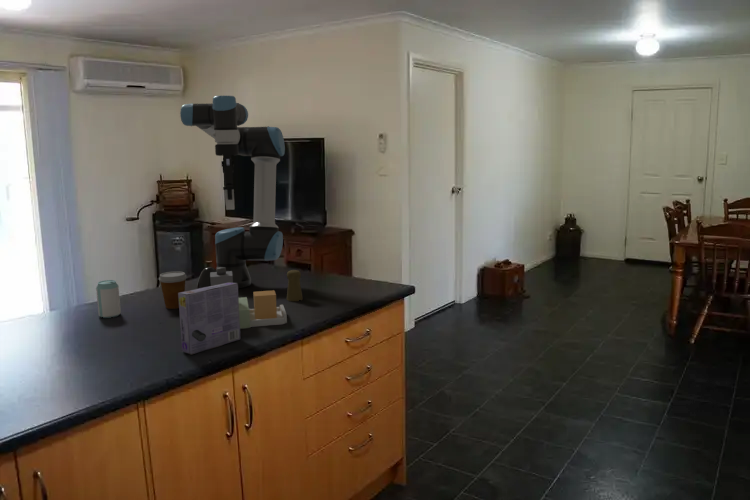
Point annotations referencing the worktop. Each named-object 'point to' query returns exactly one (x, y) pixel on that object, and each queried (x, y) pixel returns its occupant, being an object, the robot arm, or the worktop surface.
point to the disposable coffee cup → (172, 287)
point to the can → (108, 299)
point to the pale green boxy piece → (246, 303)
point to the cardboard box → (265, 304)
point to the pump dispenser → (205, 278)
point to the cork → (294, 286)
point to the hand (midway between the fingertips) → (229, 207)
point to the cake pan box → (209, 317)
